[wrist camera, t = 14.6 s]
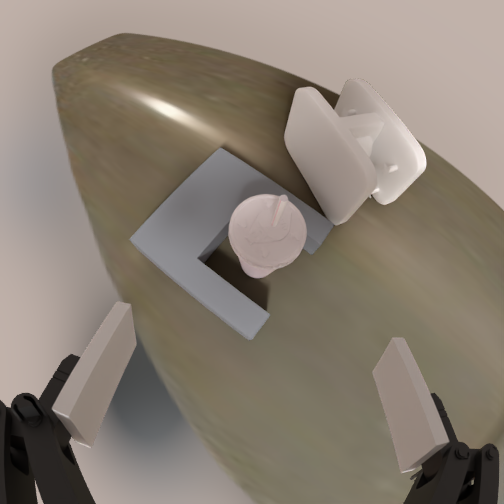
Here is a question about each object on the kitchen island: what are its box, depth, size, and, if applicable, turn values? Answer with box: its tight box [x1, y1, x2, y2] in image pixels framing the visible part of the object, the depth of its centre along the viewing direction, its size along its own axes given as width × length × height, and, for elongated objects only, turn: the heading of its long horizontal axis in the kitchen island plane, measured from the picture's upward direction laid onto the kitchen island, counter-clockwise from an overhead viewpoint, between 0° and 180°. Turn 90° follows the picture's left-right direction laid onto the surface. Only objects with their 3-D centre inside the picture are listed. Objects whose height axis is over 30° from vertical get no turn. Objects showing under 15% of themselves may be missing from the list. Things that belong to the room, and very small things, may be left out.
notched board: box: [129, 147, 334, 340], centre depth 31 cm, size 16×15×4 cm
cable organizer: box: [284, 79, 426, 225], centre depth 31 cm, size 15×11×12 cm
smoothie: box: [228, 194, 307, 278], centre depth 25 cm, size 6×6×14 cm
